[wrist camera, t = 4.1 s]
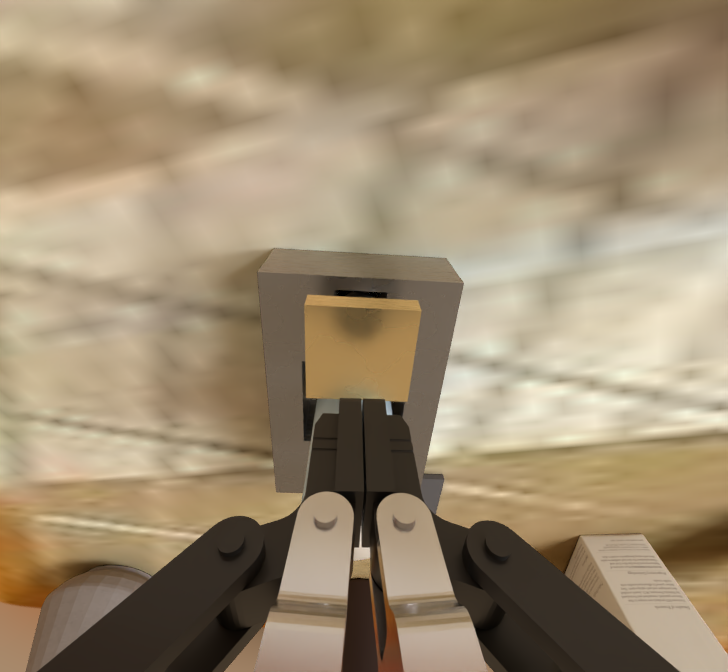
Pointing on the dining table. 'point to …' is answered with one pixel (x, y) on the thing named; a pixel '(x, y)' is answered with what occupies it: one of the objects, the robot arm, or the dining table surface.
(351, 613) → the bottle
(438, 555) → the robot arm
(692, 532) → the dining table surface
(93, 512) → the dining table surface
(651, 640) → the skincare box
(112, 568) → the coffee pot
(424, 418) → the housing
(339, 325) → the plunger
